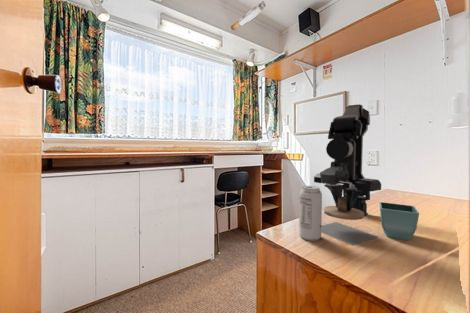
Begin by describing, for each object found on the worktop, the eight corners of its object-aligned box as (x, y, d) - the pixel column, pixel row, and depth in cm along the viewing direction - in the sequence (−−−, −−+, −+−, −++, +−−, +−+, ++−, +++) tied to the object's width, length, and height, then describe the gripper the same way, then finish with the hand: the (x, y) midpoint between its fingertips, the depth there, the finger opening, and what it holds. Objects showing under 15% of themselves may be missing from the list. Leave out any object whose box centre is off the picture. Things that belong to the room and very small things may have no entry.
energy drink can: (325, 241, 60) (326, 188, 60) (305, 243, 59) (306, 189, 59) (313, 233, 66) (314, 185, 66) (295, 235, 65) (296, 185, 65)
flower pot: (418, 245, 58) (419, 212, 58) (379, 238, 63) (380, 208, 63) (413, 234, 66) (414, 205, 65) (378, 229, 70) (379, 201, 70)
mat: (311, 229, 70) (311, 227, 70) (336, 223, 76) (336, 222, 76) (352, 246, 58) (352, 244, 58) (378, 237, 63) (378, 236, 63)
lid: (316, 211, 69) (316, 196, 68) (339, 207, 74) (339, 192, 74) (348, 222, 59) (348, 204, 59) (372, 216, 64) (372, 199, 64)
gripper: (302, 157, 70) (301, 205, 71) (357, 160, 54) (356, 222, 54) (325, 157, 75) (325, 201, 76) (383, 159, 59) (381, 216, 59)
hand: (343, 209), depth 66 cm, fingers closed on lid, 3 cm apart
